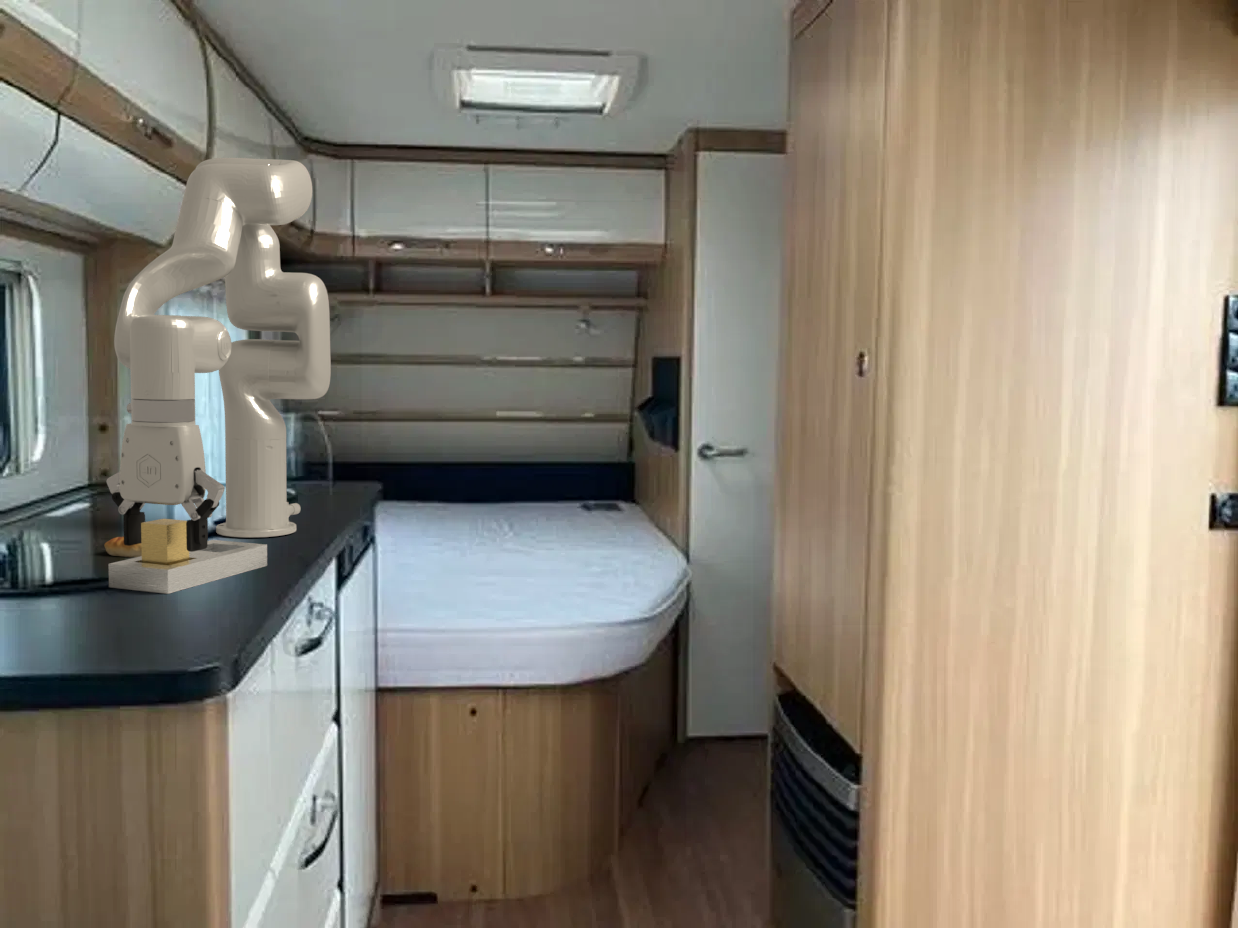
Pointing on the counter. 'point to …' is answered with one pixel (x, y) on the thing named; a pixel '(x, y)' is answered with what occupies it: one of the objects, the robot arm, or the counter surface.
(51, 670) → the counter surface
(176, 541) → the wooden block
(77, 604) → the counter surface
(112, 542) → the pastry
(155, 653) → the counter surface
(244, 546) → the board with square holes
